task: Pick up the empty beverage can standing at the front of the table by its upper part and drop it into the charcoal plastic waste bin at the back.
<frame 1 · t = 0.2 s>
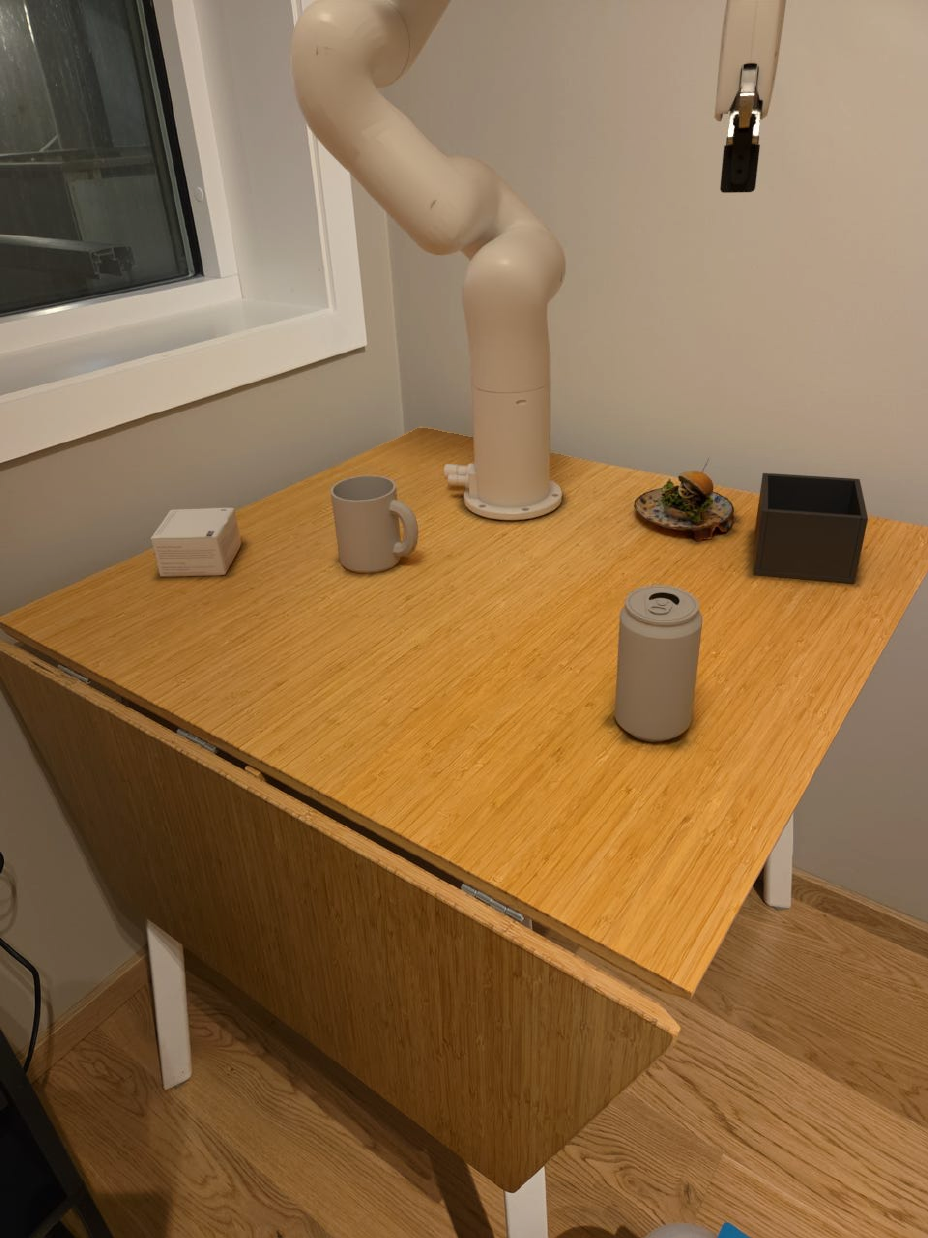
hand: (737, 185, 91), 37 cm above the table, tool pointing down, fingers open, 9 cm apart
beverage can: (651, 724, 77), on the table
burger: (682, 520, 110), on the table
small box: (202, 562, 106), on the table
cup: (381, 562, 104), on the table
bin: (801, 557, 100), on the table
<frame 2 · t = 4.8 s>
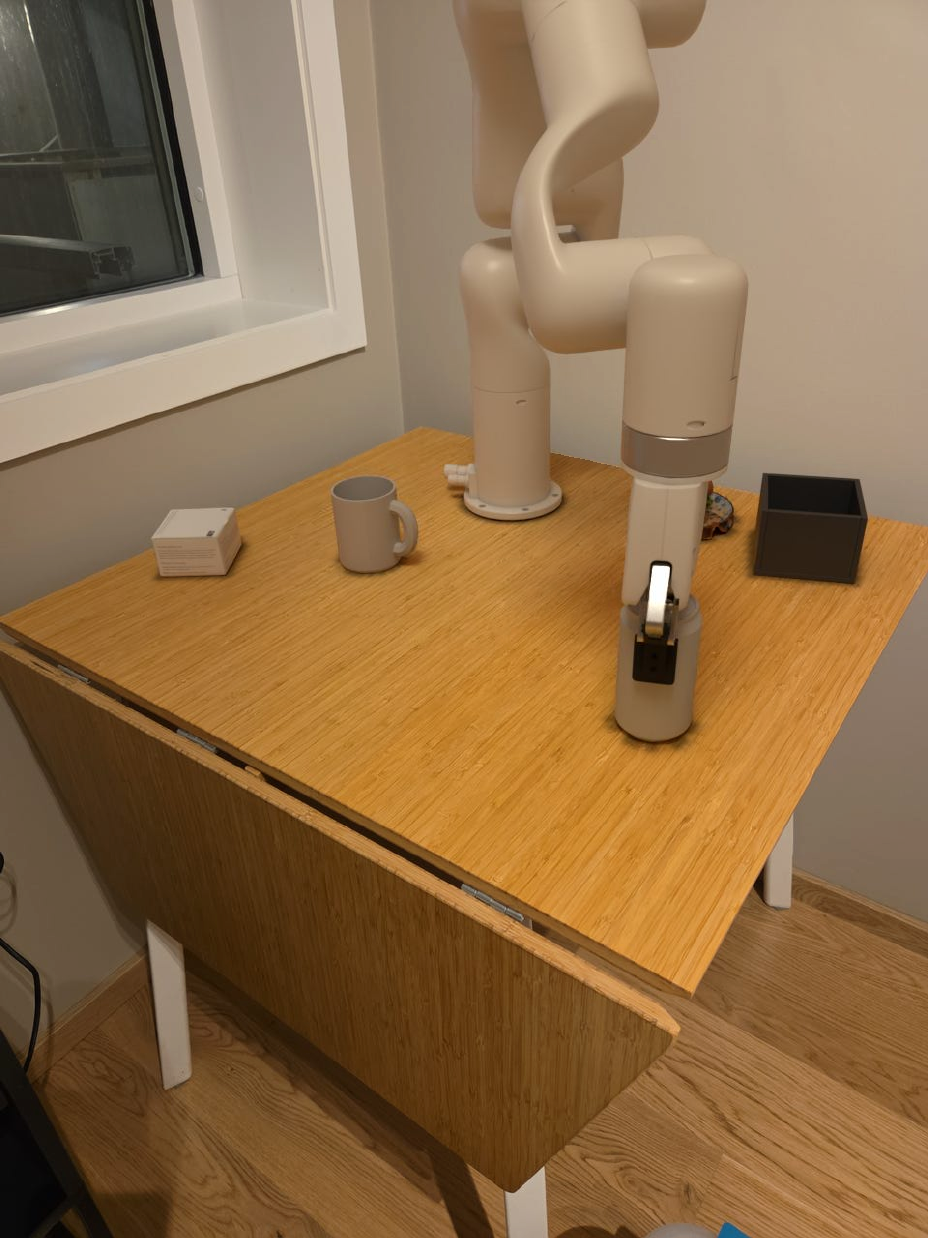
hand: (657, 653, 73), 7 cm above the table, tool pointing down, fingers closed on beverage can, 6 cm apart
beverage can: (651, 724, 77), on the table, touching gripper
everything else where it was.
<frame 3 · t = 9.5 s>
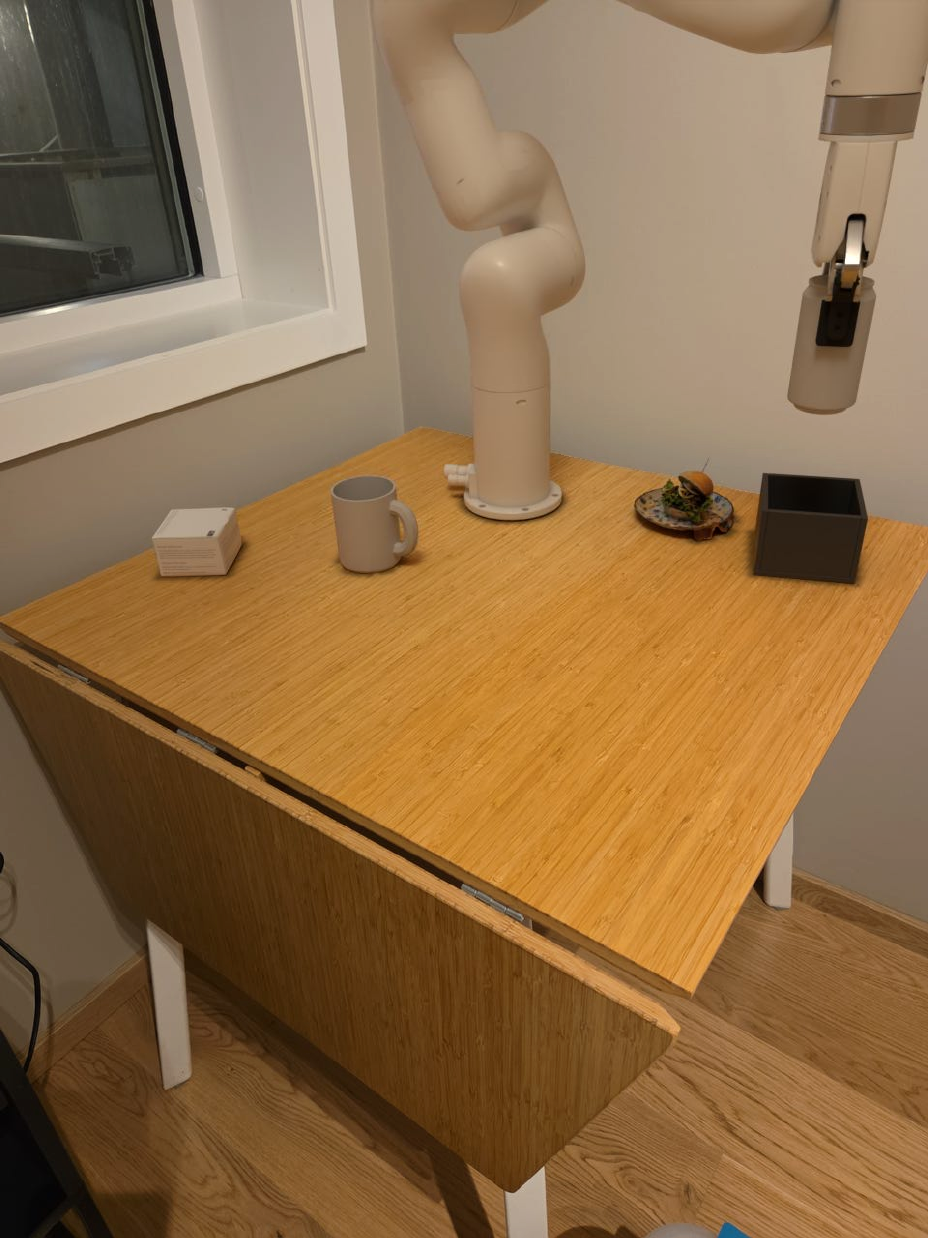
hand: (831, 333, 85), 25 cm above the table, tool pointing down, fingers closed on beverage can, 6 cm apart
beverage can: (819, 408, 89), point 18 cm above the table, touching gripper
everything else where it was.
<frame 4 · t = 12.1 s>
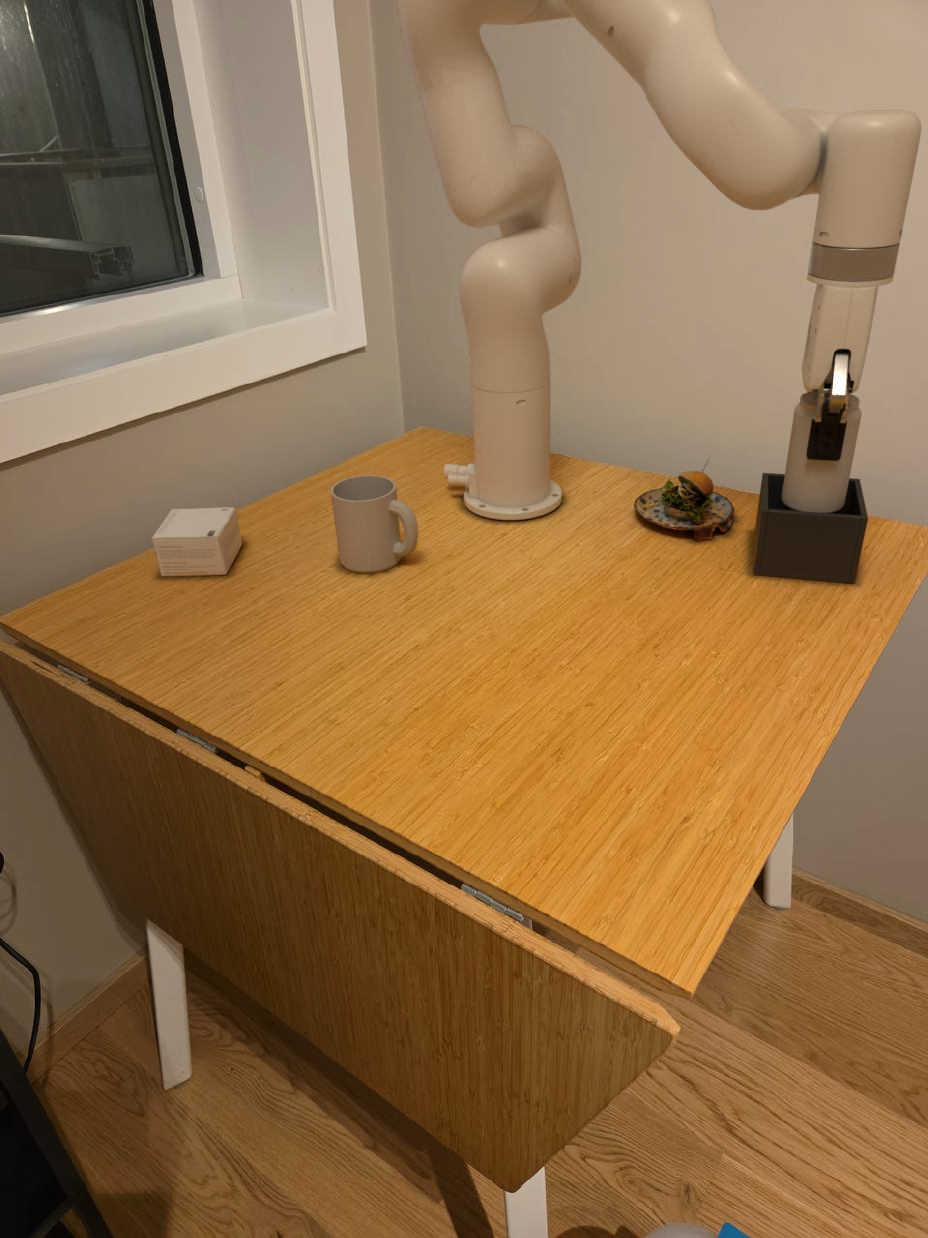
hand: (821, 444, 93), 13 cm above the table, tool pointing down, fingers closed on beverage can, 6 cm apart
beverage can: (811, 508, 97), point 6 cm above the table, touching gripper
everything else where it was.
when the fingers open (8 cm above the table, at t = 14.0 s): beverage can stays where it is, resting on bin.
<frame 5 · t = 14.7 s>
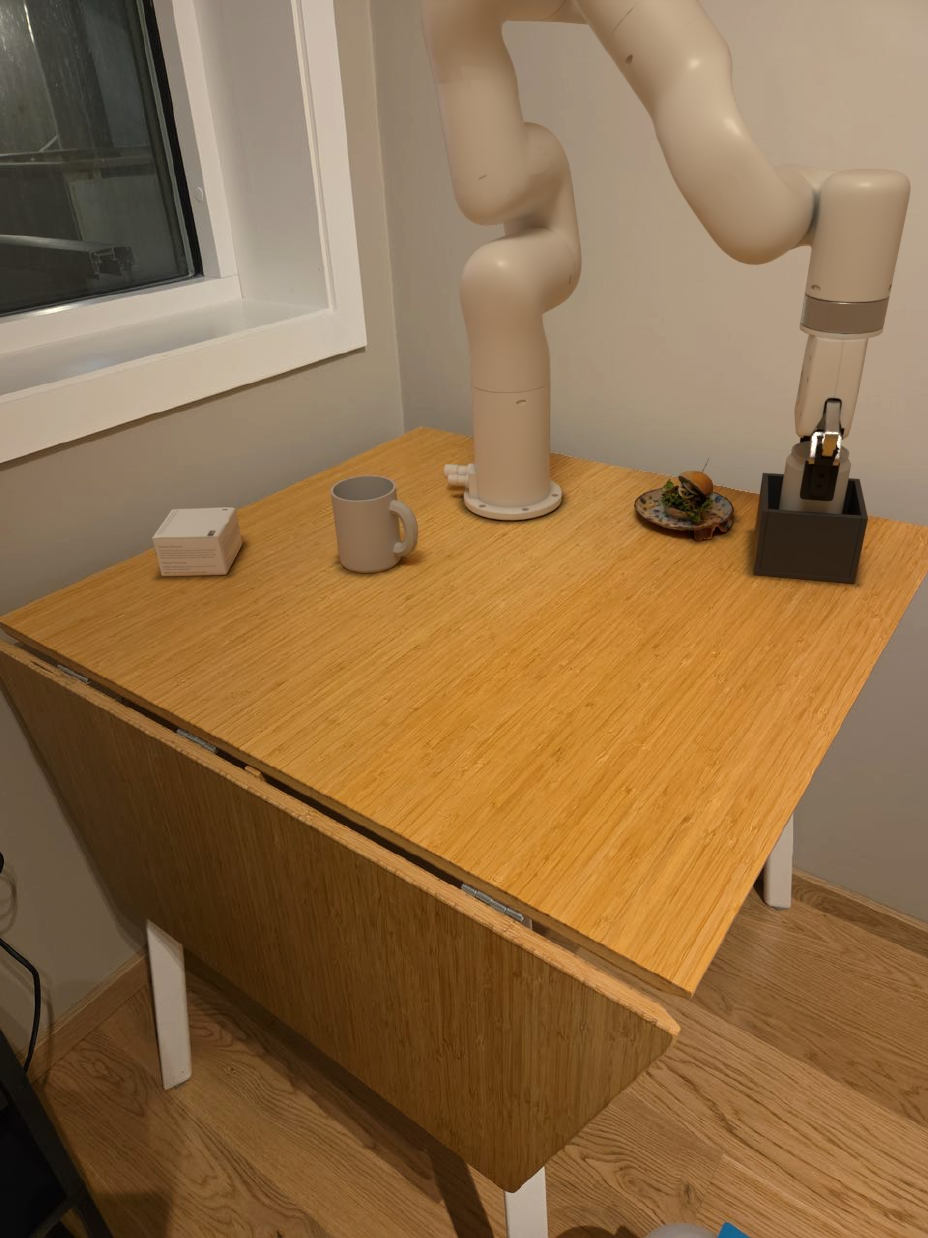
hand: (813, 480, 95), 9 cm above the table, tool pointing down, fingers open, 9 cm apart
beverage can: (802, 553, 100), resting on bin
everything else where it was.
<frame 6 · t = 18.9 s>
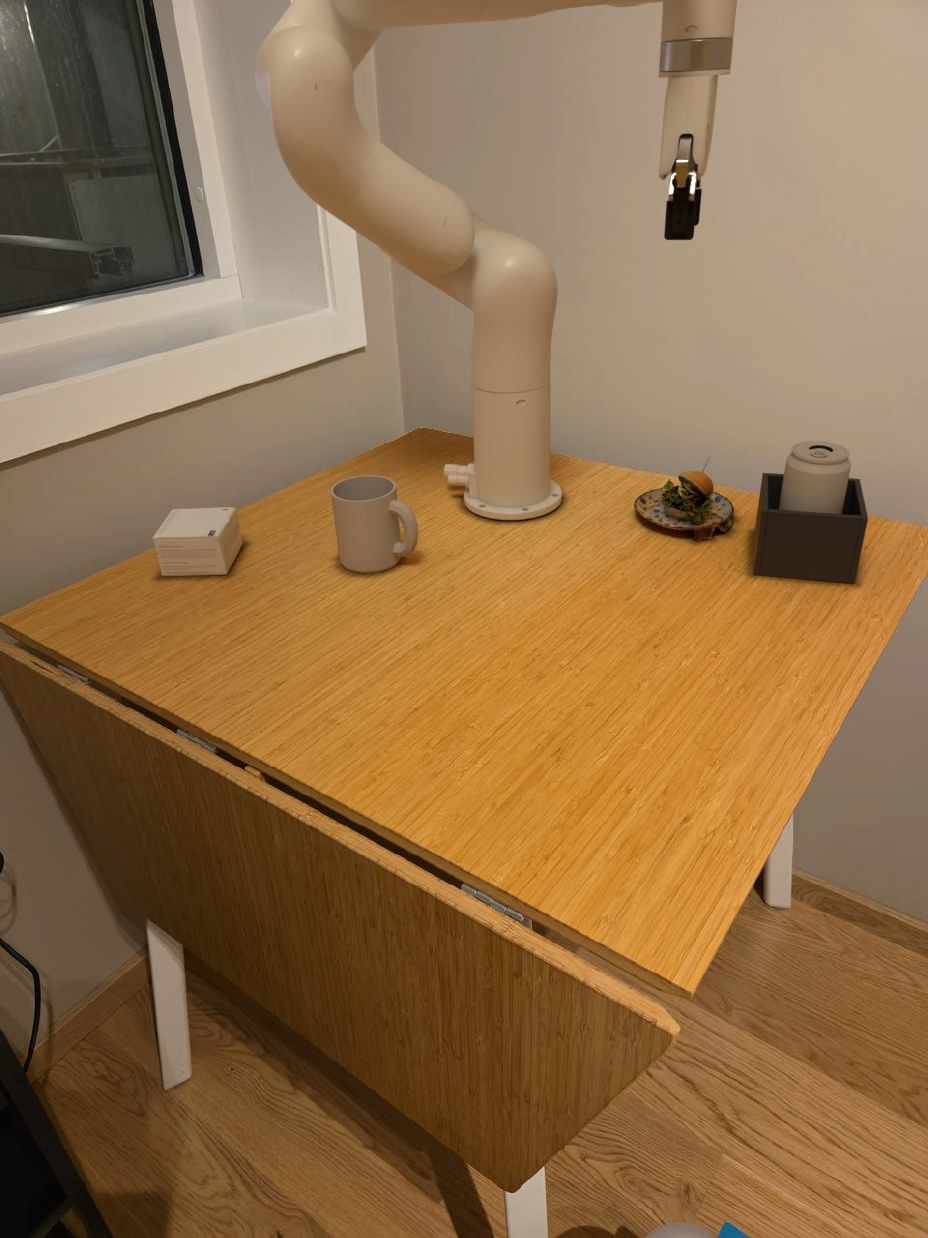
hand: (682, 231, 106), 30 cm above the table, tool pointing down, fingers open, 9 cm apart
nothing on the table moved.
at the end: beverage can inside the target area in the bin (0.0 cm from its centre), point 0.4 cm above the bin's base; the gripper is holding nothing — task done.
